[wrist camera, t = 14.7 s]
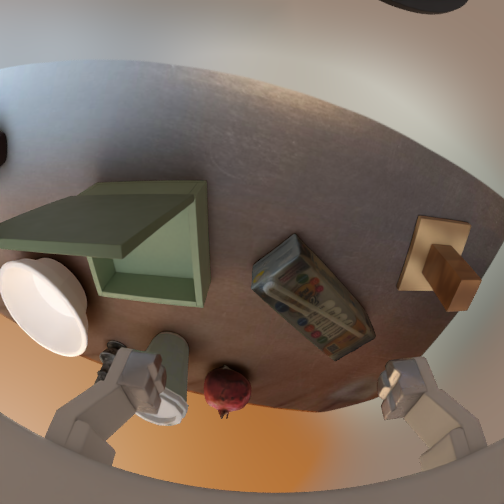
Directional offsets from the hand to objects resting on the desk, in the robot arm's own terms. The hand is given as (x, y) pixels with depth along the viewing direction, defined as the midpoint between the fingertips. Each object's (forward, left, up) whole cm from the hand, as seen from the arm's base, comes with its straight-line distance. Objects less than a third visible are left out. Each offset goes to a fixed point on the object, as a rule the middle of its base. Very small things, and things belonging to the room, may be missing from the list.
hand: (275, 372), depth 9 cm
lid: (0, -16, -13) cm, 20 cm away
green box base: (+9, -16, -27) cm, 32 cm away
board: (+10, +25, -27) cm, 38 cm away
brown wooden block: (+10, +25, -26) cm, 38 cm away
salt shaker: (+36, -29, -27) cm, 53 cm away
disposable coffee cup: (+31, -16, -27) cm, 44 cm away
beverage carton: (+17, +7, -27) cm, 33 cm away
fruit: (+39, -6, -27) cm, 48 cm away
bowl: (+21, -38, -27) cm, 51 cm away
